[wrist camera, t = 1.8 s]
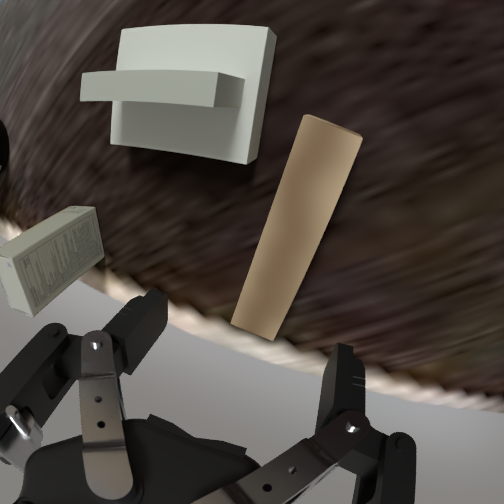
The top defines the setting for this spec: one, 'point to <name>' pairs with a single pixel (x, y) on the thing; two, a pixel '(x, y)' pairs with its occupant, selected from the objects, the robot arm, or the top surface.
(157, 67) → the fulcrum
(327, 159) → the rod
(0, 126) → the ink bottle
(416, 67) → the top surface
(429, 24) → the top surface
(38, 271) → the skincare box
